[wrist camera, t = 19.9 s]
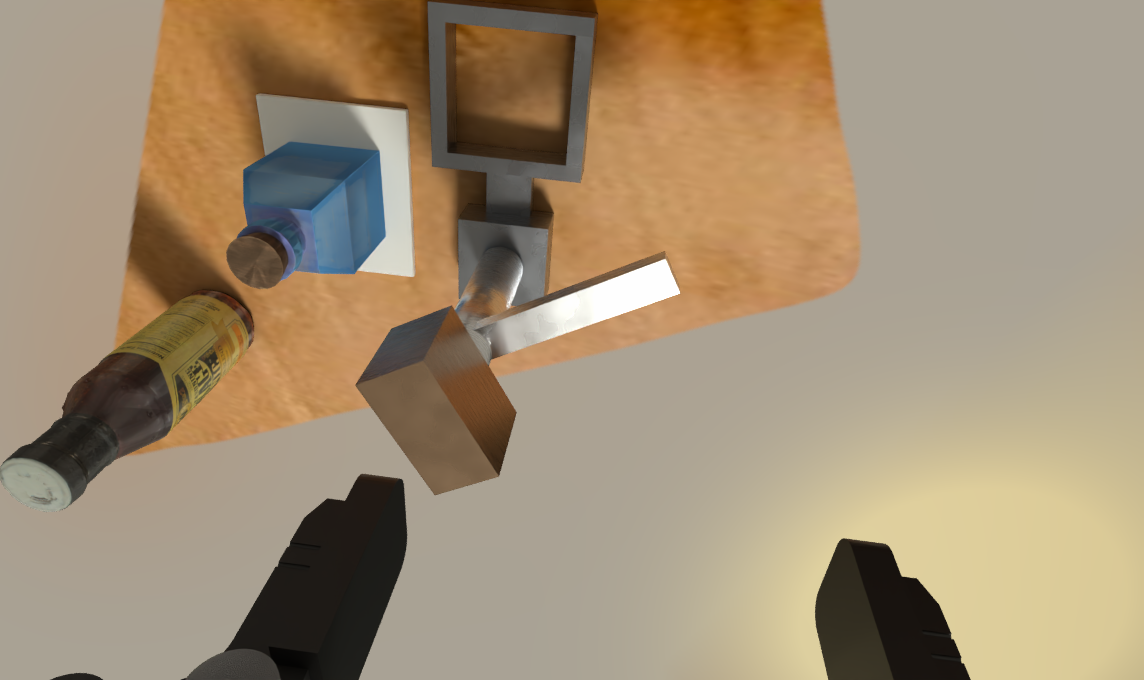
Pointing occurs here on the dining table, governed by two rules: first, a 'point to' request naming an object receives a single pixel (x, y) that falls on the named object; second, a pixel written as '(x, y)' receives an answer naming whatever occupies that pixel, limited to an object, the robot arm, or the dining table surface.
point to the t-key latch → (485, 361)
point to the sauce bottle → (131, 398)
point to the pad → (361, 131)
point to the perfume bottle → (308, 213)
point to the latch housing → (506, 168)
